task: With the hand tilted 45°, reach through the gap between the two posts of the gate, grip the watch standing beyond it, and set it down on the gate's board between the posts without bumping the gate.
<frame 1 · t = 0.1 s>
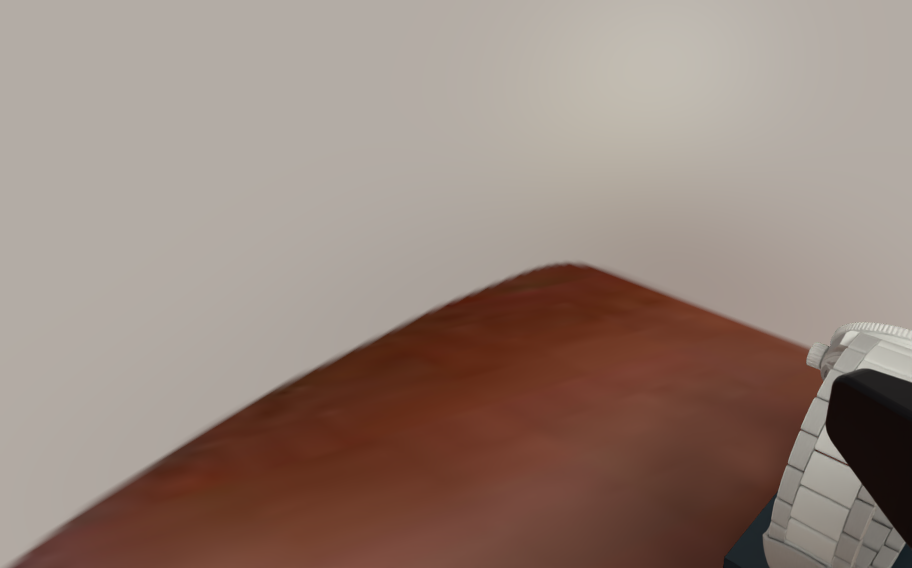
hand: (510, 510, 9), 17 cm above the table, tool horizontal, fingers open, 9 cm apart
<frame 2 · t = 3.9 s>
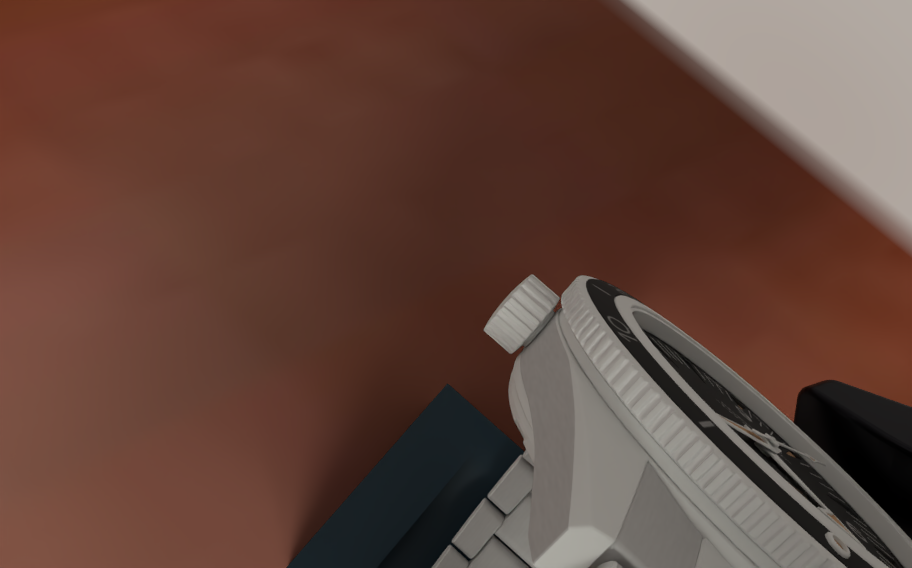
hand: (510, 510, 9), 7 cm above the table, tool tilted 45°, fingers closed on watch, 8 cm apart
when the fingers open (8 cm above the table, at t = 9.5 s): watch drops 1 cm, resting on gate.
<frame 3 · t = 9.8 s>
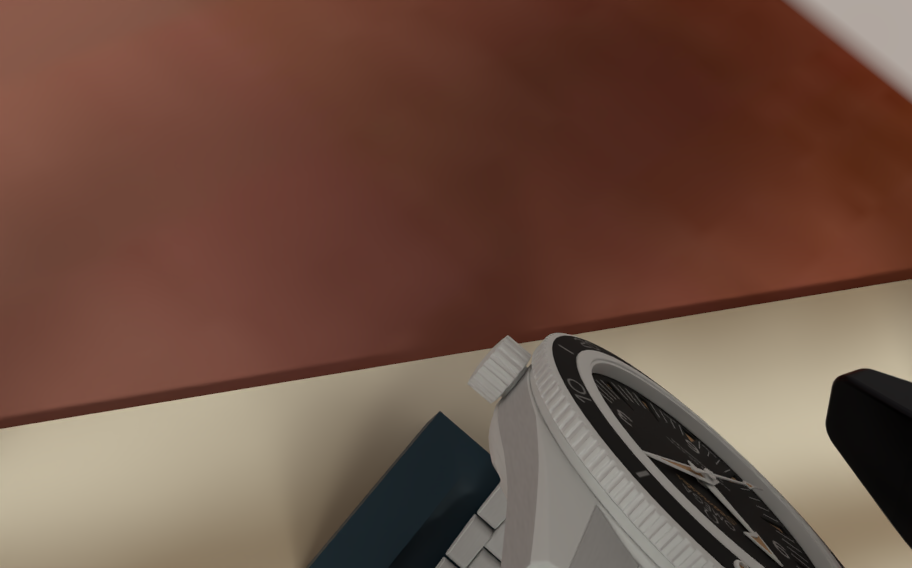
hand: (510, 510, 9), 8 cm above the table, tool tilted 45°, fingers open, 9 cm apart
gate: (457, 554, 17), on the table, touching watch
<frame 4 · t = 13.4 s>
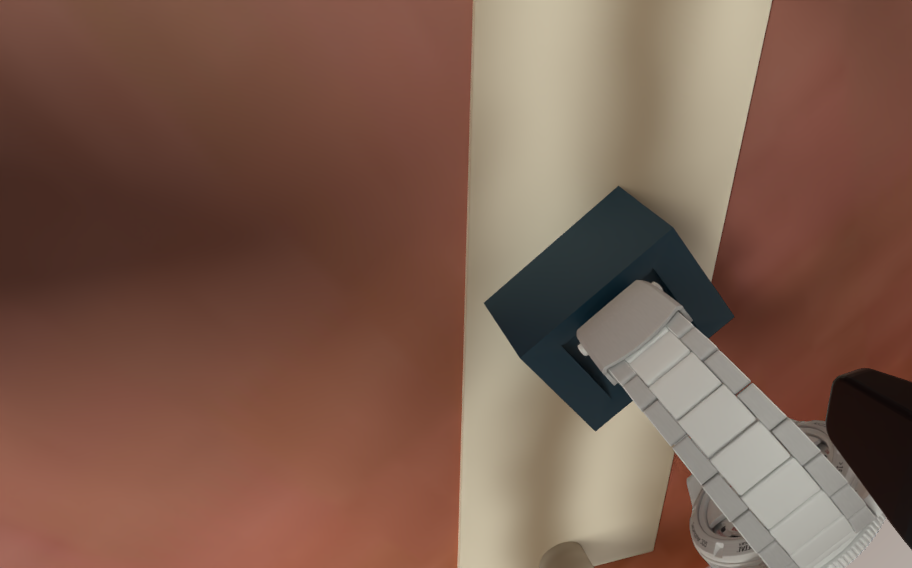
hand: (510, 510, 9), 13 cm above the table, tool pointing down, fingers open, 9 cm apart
watch: (584, 283, 24), resting on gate
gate: (585, 277, 25), on the table, touching watch
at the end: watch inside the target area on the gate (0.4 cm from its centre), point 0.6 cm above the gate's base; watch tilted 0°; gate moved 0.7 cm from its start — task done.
